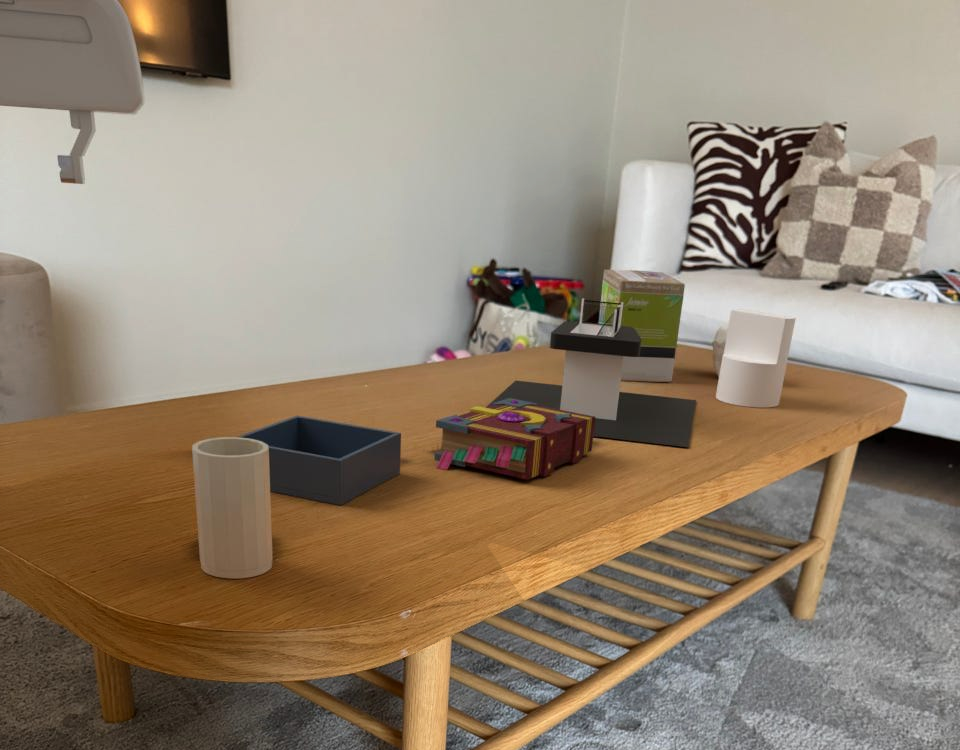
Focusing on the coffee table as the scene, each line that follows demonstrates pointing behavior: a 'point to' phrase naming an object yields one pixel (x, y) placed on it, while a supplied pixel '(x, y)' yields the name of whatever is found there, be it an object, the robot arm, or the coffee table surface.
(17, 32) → the robot arm
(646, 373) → the tea box
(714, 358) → the penguin figurine
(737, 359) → the base with upright slab
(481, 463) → the decorative book
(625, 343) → the black-topped pedestal
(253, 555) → the cream cup
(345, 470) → the slate bin
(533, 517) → the coffee table surface
